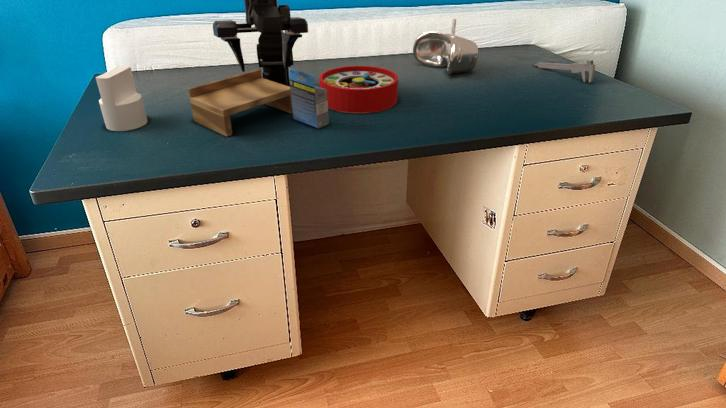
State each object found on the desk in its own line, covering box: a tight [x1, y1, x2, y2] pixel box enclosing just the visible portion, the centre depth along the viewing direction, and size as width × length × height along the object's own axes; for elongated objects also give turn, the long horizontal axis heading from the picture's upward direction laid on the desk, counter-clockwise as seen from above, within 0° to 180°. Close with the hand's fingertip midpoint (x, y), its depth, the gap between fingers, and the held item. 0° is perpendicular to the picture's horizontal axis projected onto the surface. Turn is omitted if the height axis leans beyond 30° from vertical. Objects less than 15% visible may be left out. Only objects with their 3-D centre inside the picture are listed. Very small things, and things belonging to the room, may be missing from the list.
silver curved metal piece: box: [412, 18, 479, 76], centre depth 150 cm, size 18×11×14 cm, turn 33°
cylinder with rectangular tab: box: [95, 65, 149, 132], centre depth 113 cm, size 9×9×12 cm
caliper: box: [534, 59, 596, 83], centre depth 147 cm, size 20×1×6 cm, turn 31°
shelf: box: [187, 68, 293, 137], centre depth 118 cm, size 20×13×8 cm, turn 138°
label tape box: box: [288, 67, 330, 129], centre depth 114 cm, size 9×4×12 cm, turn 47°
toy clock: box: [318, 65, 399, 114], centre depth 129 cm, size 20×6×20 cm
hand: (264, 69), depth 108 cm, fingers open, 9 cm apart
